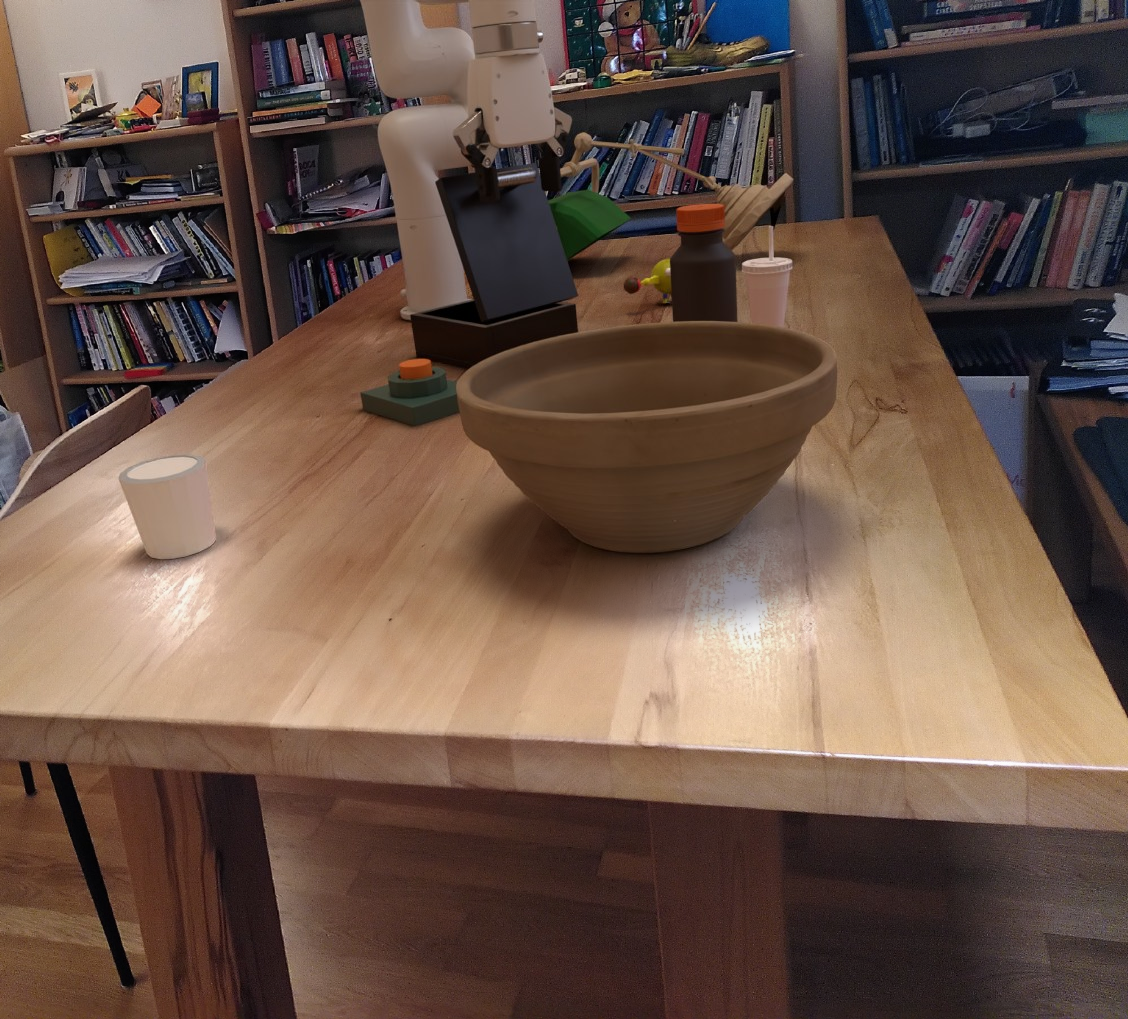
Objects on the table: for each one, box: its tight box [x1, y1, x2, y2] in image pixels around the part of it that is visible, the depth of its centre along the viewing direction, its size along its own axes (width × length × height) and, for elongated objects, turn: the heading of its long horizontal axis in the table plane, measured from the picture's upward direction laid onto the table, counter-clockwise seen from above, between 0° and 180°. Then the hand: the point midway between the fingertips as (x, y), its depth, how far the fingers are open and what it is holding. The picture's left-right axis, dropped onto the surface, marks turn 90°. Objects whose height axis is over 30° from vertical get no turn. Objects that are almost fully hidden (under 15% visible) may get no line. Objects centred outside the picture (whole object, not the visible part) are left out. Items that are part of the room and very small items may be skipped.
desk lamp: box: [545, 132, 794, 262], centre depth 191 cm, size 35×42×39 cm
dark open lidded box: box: [410, 298, 579, 370], centre depth 140 cm, size 17×15×6 cm
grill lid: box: [435, 162, 579, 322], centre depth 130 cm, size 18×15×6 cm
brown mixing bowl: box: [456, 321, 838, 554], centre depth 81 cm, size 28×28×13 cm
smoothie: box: [741, 225, 793, 328], centre depth 133 cm, size 6×6×14 cm
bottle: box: [669, 203, 739, 322], centre depth 110 cm, size 7×7×20 cm
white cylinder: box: [117, 453, 217, 560], centre depth 86 cm, size 7×7×7 cm
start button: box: [398, 358, 433, 380], centre depth 118 cm, size 4×4×2 cm
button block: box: [359, 366, 460, 427], centre depth 119 cm, size 11×9×4 cm
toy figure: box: [623, 258, 672, 306], centre depth 160 cm, size 18×6×7 cm, turn 131°
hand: (521, 196), depth 127 cm, fingers open, 9 cm apart
